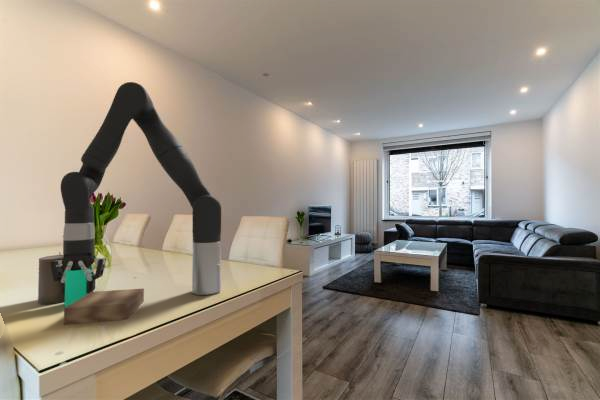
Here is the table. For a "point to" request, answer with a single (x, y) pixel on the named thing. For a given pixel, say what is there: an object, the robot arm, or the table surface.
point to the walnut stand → (104, 306)
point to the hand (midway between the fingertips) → (78, 293)
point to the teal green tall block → (75, 286)
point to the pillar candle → (49, 282)
